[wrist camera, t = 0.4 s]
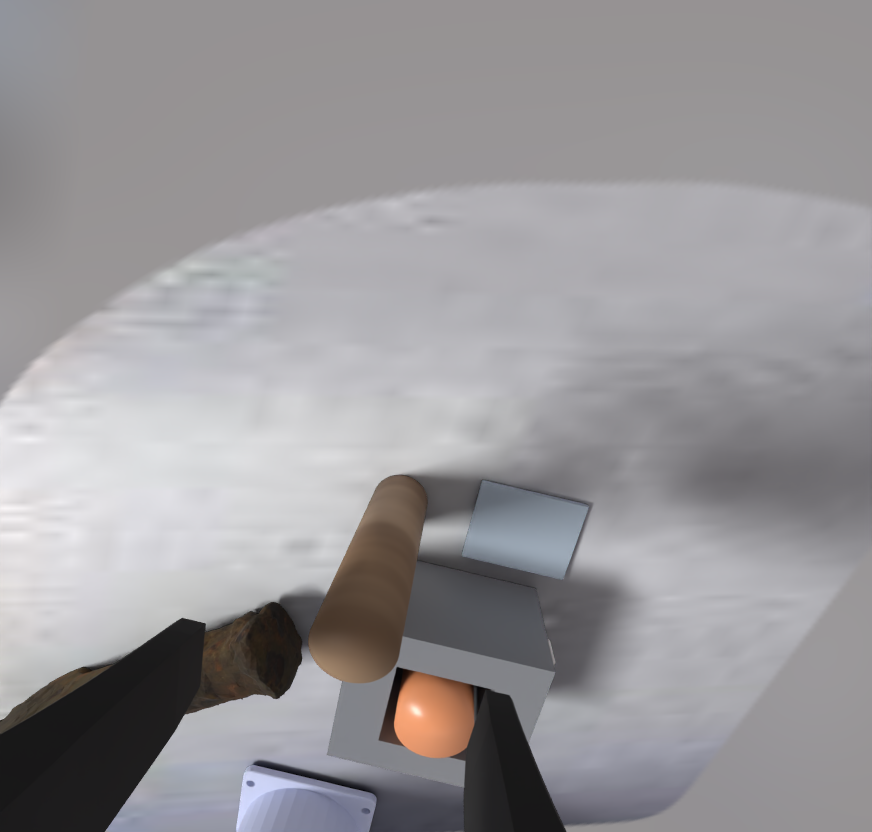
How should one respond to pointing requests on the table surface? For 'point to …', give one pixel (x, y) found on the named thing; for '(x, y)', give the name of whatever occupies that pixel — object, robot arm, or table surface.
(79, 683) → the brown rough rod
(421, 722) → the orange rounded piece
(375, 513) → the wooden rod
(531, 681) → the gray hollow box
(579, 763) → the table surface
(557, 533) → the pad
